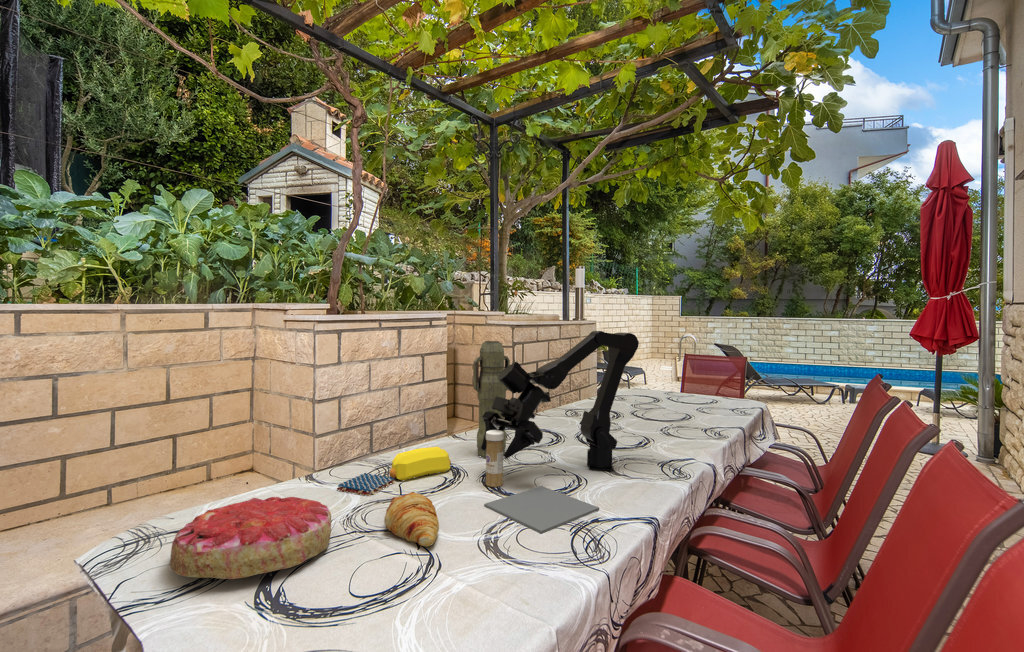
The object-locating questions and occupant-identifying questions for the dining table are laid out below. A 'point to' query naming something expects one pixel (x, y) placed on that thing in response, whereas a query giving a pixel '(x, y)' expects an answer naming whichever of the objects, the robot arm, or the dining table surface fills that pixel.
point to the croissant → (413, 518)
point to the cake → (251, 538)
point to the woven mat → (365, 484)
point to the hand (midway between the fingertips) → (493, 453)
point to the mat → (541, 508)
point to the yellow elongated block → (419, 463)
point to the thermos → (489, 385)
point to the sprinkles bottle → (494, 458)
